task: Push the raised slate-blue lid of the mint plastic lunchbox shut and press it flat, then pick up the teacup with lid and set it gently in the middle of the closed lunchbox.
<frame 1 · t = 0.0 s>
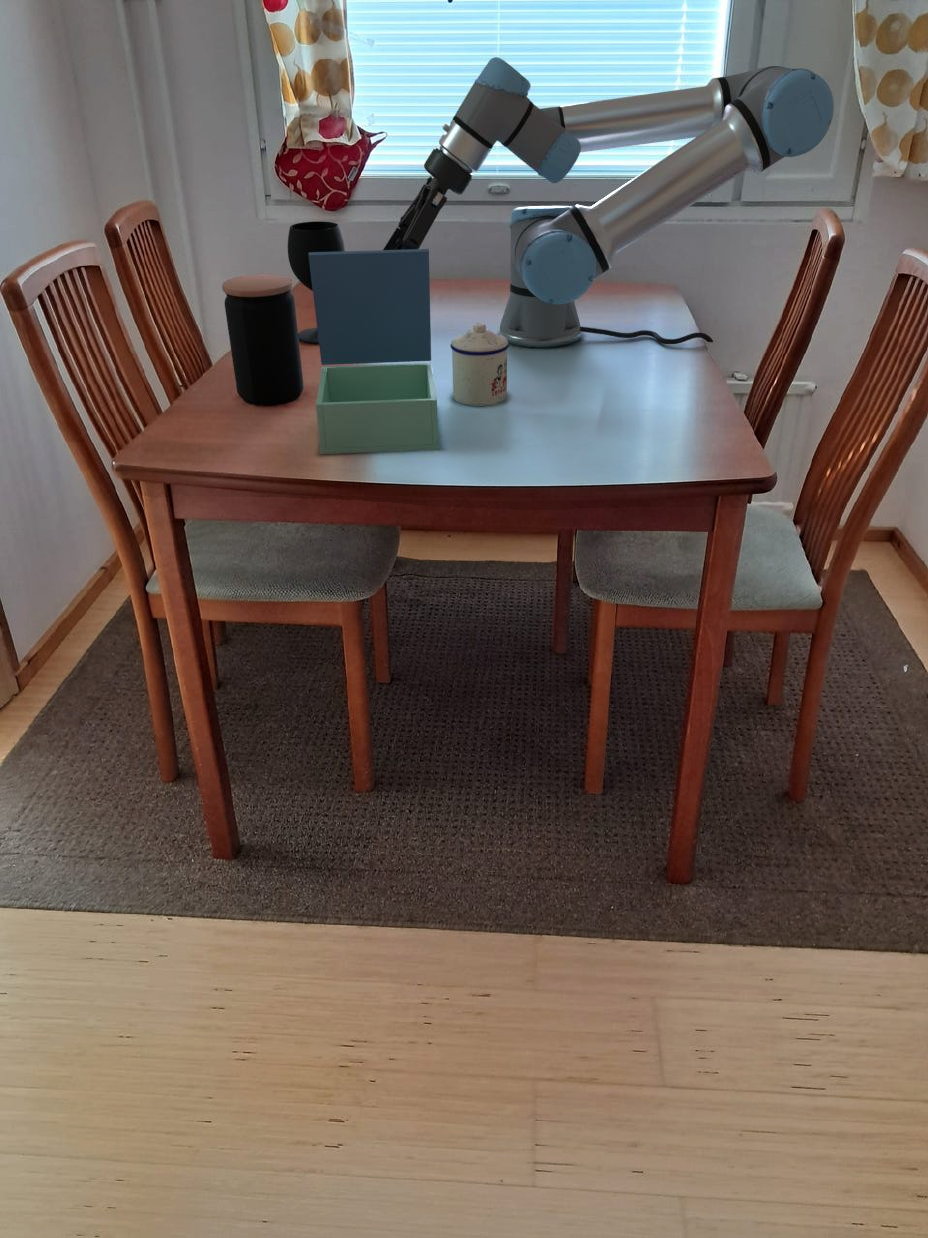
hand: (383, 274, 161), 15 cm above the table, tool tilted 35°, fingers open, 13 cm apart
coffee jar: (271, 397, 156), on the table
lunchbox: (379, 430, 142), on the table
lunchbox lid: (372, 309, 139), point 16 cm above the table, hinge at 75.0°
wine glass: (324, 337, 184), on the table
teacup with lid: (481, 395, 155), on the table
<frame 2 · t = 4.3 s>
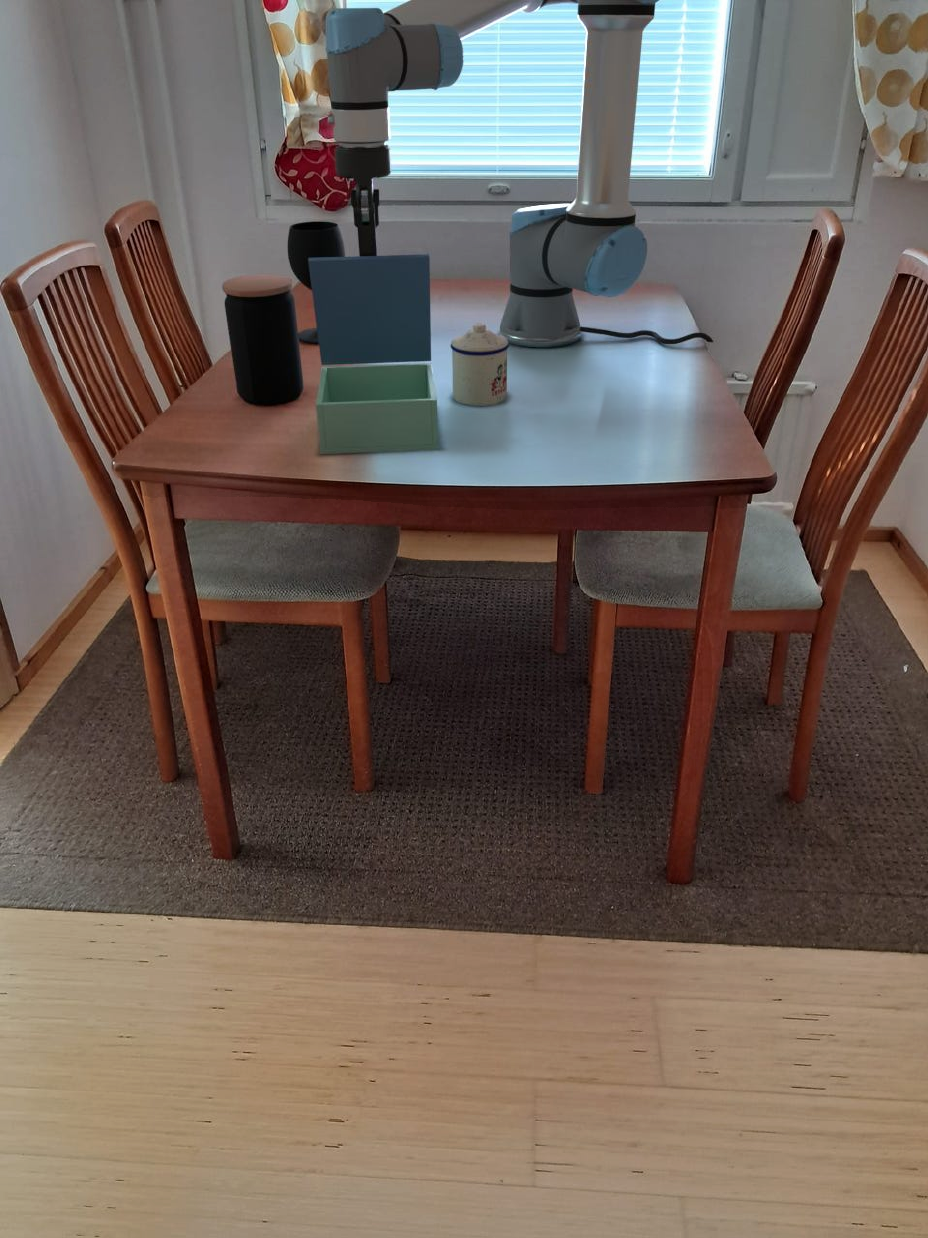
hand: (372, 321, 141), 14 cm above the table, tool pointing down, fingers closed
lunchbox lid: (372, 311, 138), point 16 cm above the table, hinge at 70.1°
everything else where it was.
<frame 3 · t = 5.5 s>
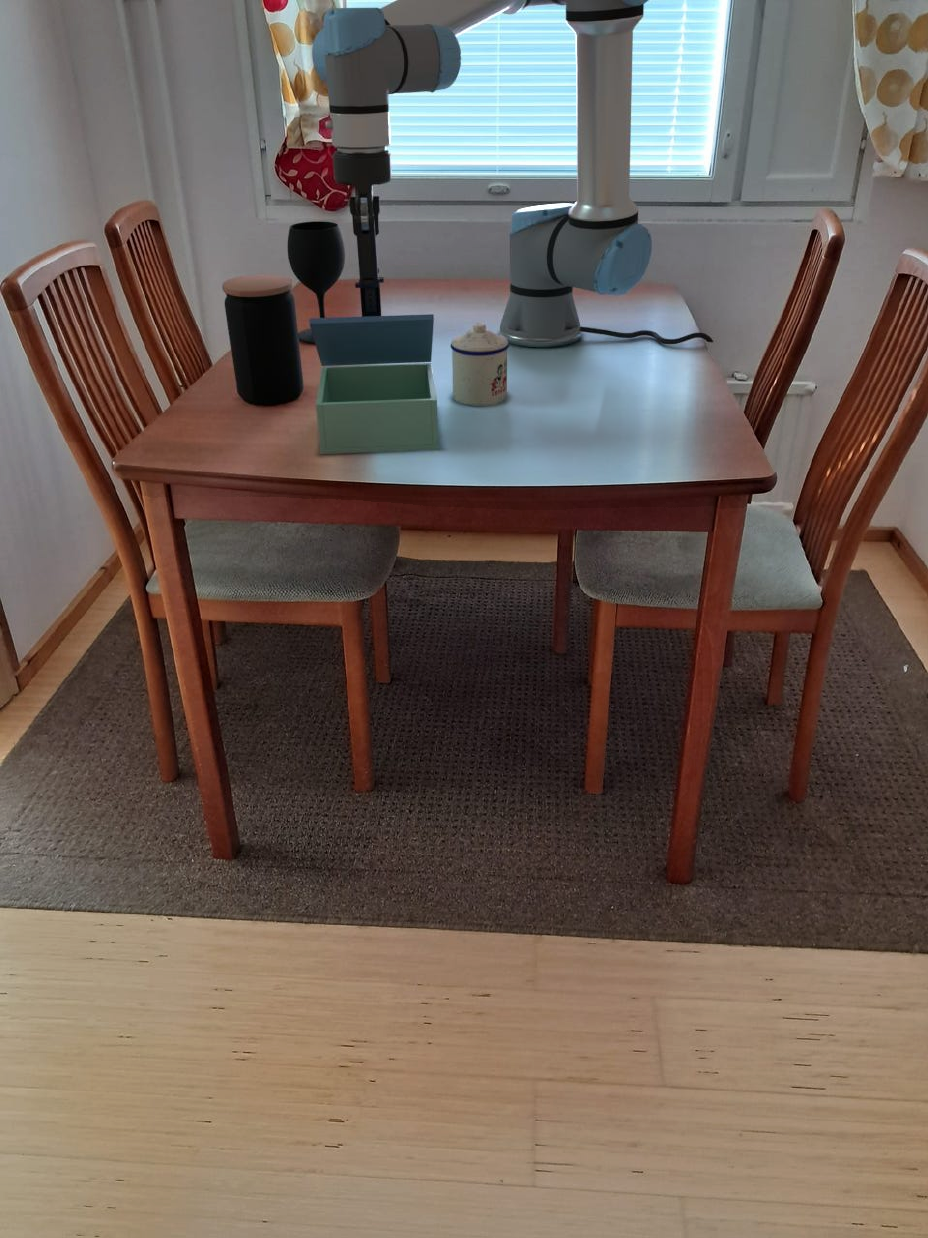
hand: (372, 332, 136), 14 cm above the table, tool pointing down, fingers closed
lunchbox lid: (374, 341, 137), point 13 cm above the table, hinge at 35.8°
everything else where it was.
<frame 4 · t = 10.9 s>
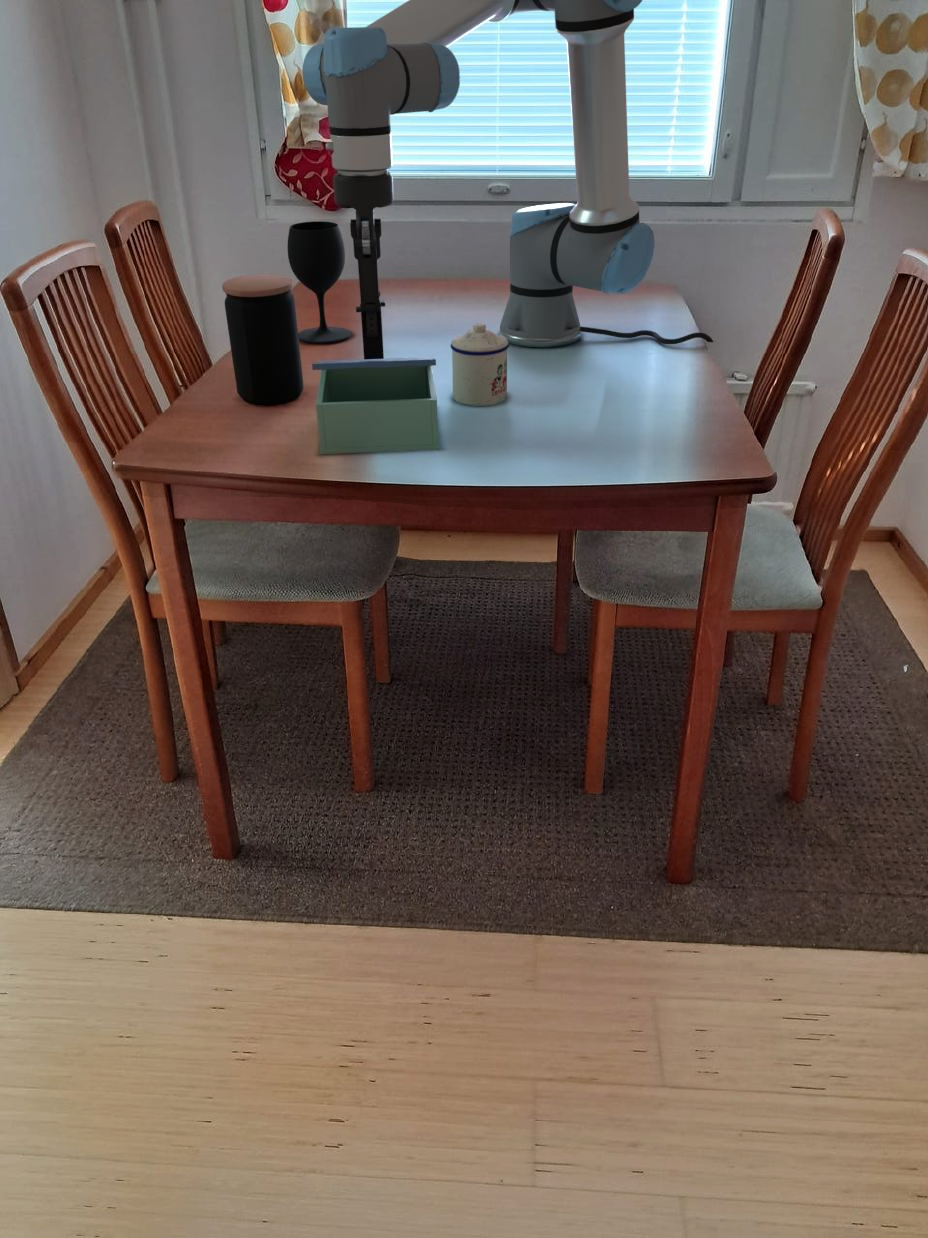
hand: (373, 357, 133), 12 cm above the table, tool pointing down, fingers closed
lunchbox lid: (375, 362, 137), point 10 cm above the table, hinge at 16.1°
everything else where it was.
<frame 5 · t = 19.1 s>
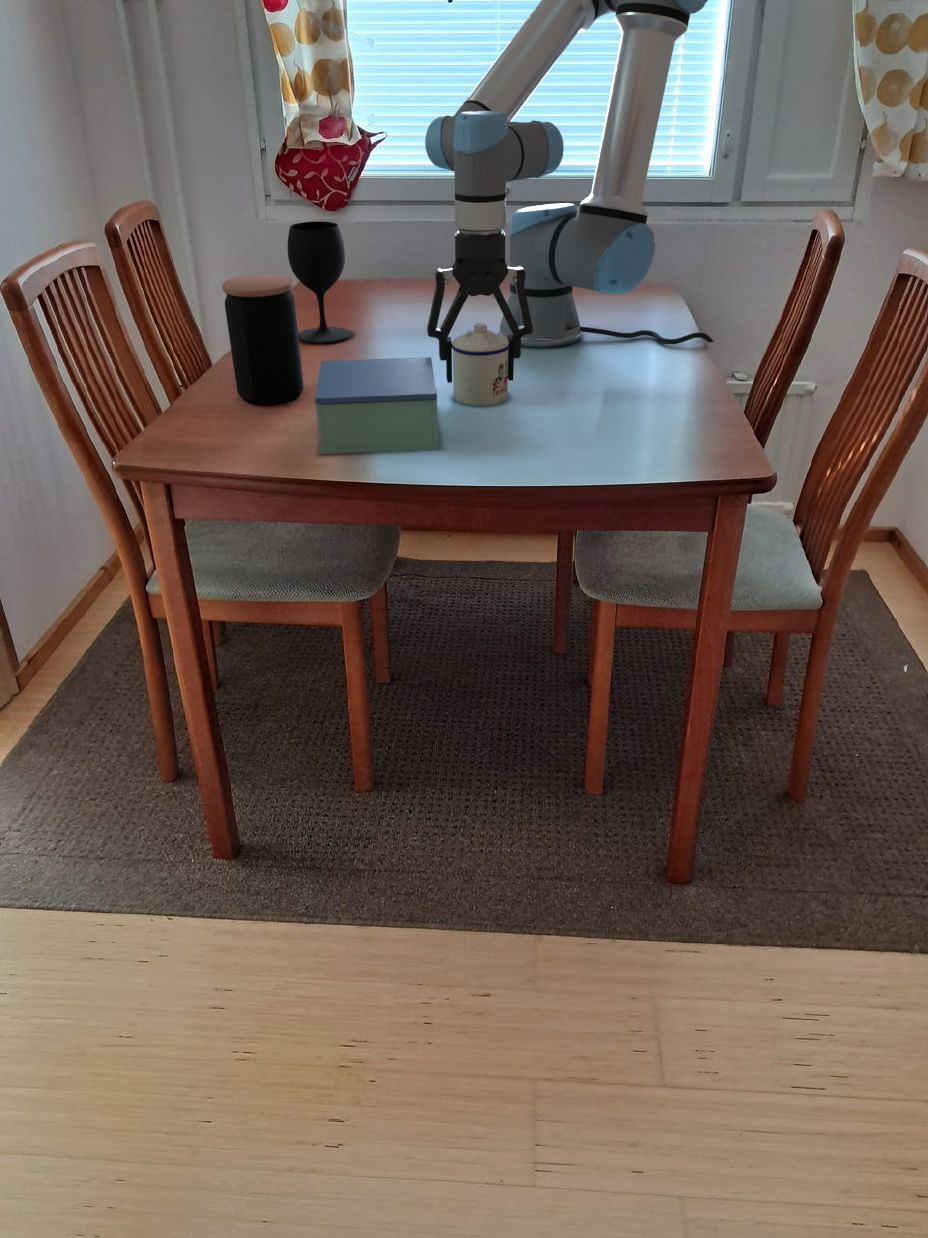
hand: (479, 378, 153), 3 cm above the table, tool pointing down, fingers closed on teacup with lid, 9 cm apart
lunchbox lid: (376, 379, 138), point 8 cm above the table, hinge at 1.0°
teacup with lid: (482, 395, 155), on the table, touching gripper
everything else where it was.
when the fingers open (11 cm above the table, at t = 29.4 s): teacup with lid stays where it is, resting on lunchbox lid.
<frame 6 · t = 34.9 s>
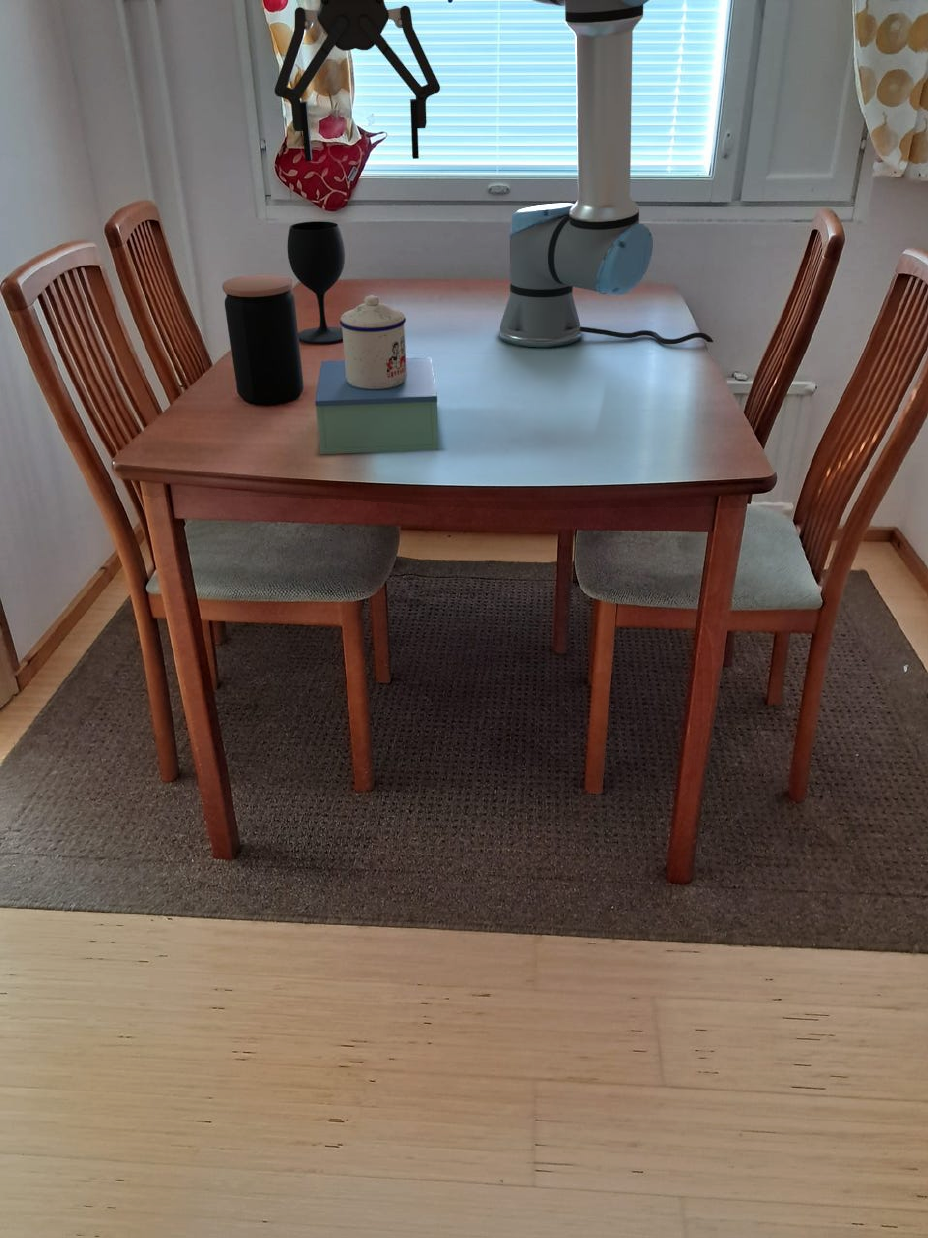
hand: (362, 158, 123), 37 cm above the table, tool pointing down, fingers open, 13 cm apart
lunchbox lid: (376, 380, 138), point 8 cm above the table, hinge at -0.2°, touching lunchbox, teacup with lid
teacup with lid: (379, 378, 138), point 8 cm above the table, touching lunchbox lid
everything else where it was.
at the end: lunchbox lid at +0° (first picture: +75°); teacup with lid inside the target area on the lunchbox (0.6 cm from its centre), point 7.9 cm above the lunchbox's base; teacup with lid tilted 0° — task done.
